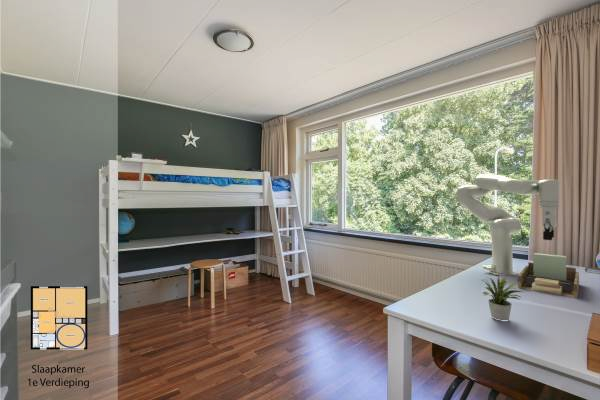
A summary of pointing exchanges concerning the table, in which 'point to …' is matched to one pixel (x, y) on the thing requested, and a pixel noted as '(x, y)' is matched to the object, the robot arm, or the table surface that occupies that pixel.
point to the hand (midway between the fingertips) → (548, 238)
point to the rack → (568, 285)
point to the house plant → (500, 299)
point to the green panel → (549, 266)
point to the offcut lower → (547, 289)
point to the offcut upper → (547, 282)
